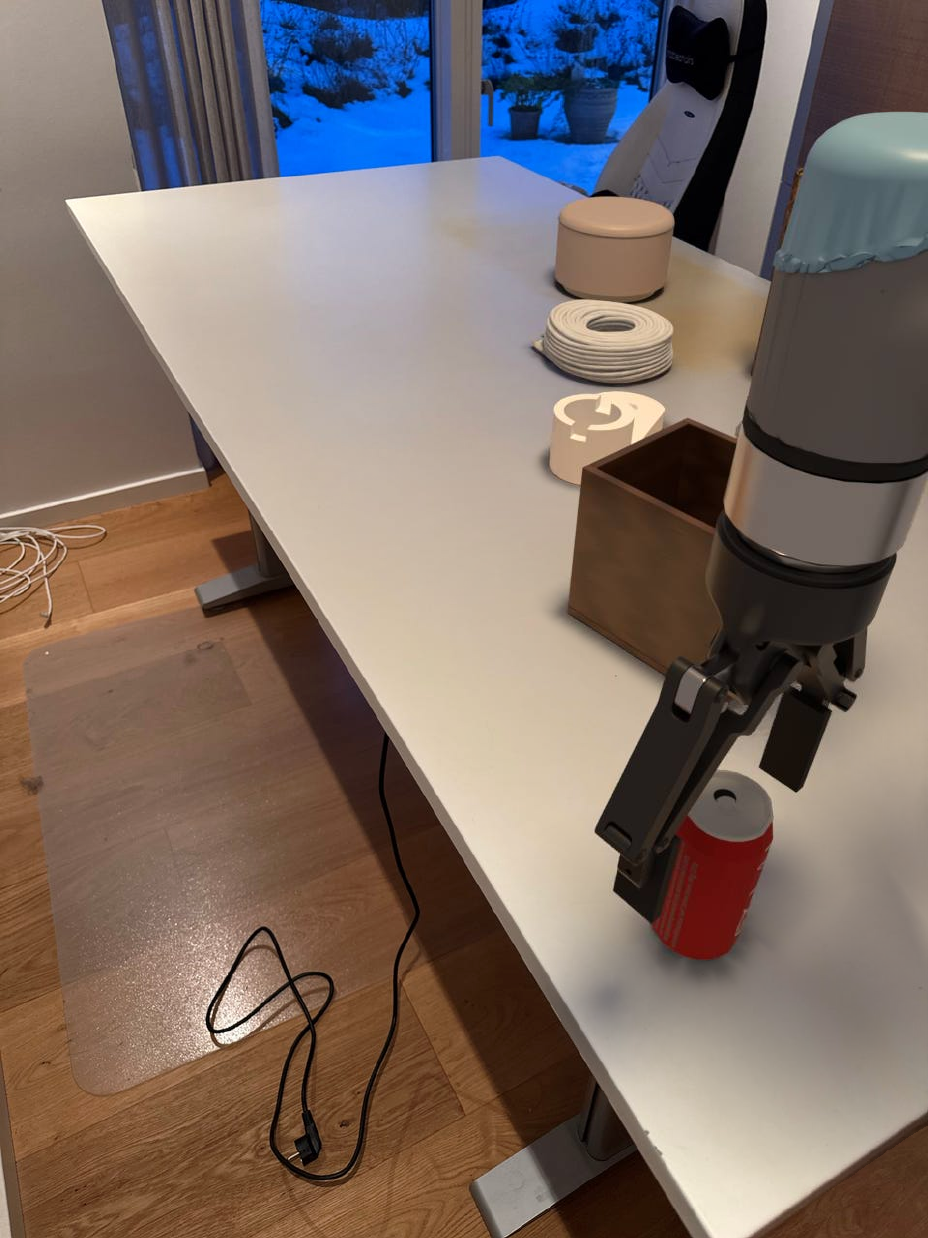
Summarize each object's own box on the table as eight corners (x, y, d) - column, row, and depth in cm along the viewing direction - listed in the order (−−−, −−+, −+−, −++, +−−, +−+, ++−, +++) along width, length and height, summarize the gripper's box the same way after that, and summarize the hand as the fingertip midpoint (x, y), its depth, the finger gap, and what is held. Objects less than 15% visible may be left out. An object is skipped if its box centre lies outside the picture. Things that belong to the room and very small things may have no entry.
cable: (524, 343, 131) (526, 300, 127) (635, 329, 135) (640, 288, 131) (573, 394, 118) (577, 349, 114) (694, 378, 122) (702, 333, 119)
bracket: (610, 493, 99) (617, 437, 95) (536, 473, 102) (540, 418, 98) (669, 419, 113) (678, 367, 109) (602, 403, 116) (608, 352, 112)
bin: (566, 612, 83) (581, 467, 74) (662, 556, 90) (687, 417, 81) (719, 710, 73) (758, 557, 64) (813, 638, 80) (860, 491, 71)
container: (532, 288, 148) (536, 211, 141) (590, 260, 160) (596, 188, 152) (630, 314, 140) (640, 234, 133) (684, 283, 151) (696, 207, 144)
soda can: (746, 965, 56) (792, 841, 48) (655, 963, 56) (688, 839, 49) (727, 888, 60) (767, 763, 53) (643, 886, 60) (671, 761, 53)
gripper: (877, 410, 48) (780, 702, 62) (541, 599, 35) (511, 917, 49) (1022, 466, 44) (884, 767, 57) (701, 705, 31) (619, 1022, 44)
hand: (713, 836), depth 53 cm, fingers open, 13 cm apart
